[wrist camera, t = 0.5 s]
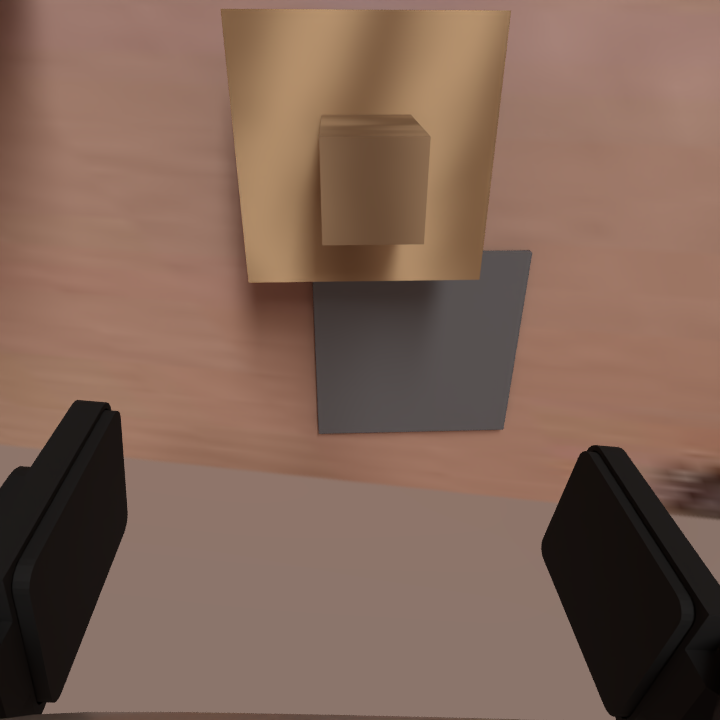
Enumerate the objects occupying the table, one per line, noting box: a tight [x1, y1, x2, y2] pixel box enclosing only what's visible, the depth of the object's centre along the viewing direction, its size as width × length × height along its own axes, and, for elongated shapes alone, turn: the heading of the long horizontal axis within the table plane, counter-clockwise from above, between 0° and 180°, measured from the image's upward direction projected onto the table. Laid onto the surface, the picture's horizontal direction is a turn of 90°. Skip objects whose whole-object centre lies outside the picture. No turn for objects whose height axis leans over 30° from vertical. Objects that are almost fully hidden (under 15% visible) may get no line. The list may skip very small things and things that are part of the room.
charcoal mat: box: [313, 250, 532, 434], centre depth 40 cm, size 14×14×1 cm
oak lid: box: [221, 9, 511, 283], centre depth 25 cm, size 12×12×7 cm
